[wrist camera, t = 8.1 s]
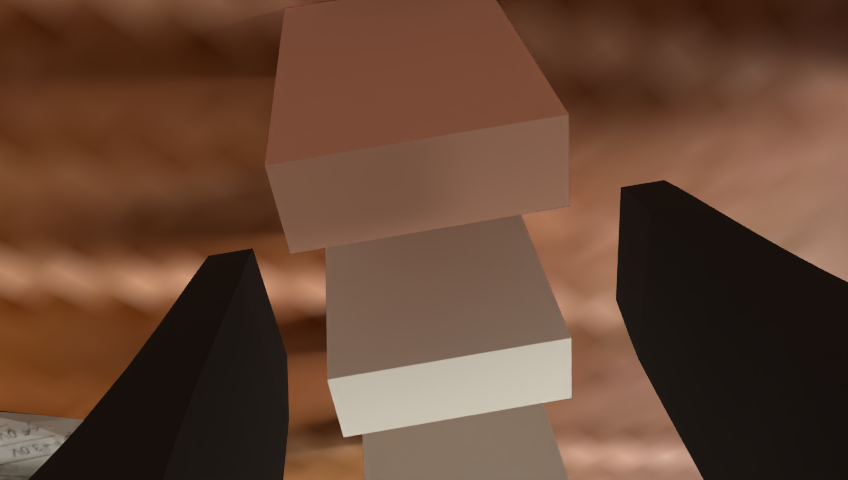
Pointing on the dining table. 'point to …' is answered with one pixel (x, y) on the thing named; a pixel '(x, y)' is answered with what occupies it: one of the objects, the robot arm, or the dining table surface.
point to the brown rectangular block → (409, 121)
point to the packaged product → (30, 442)
